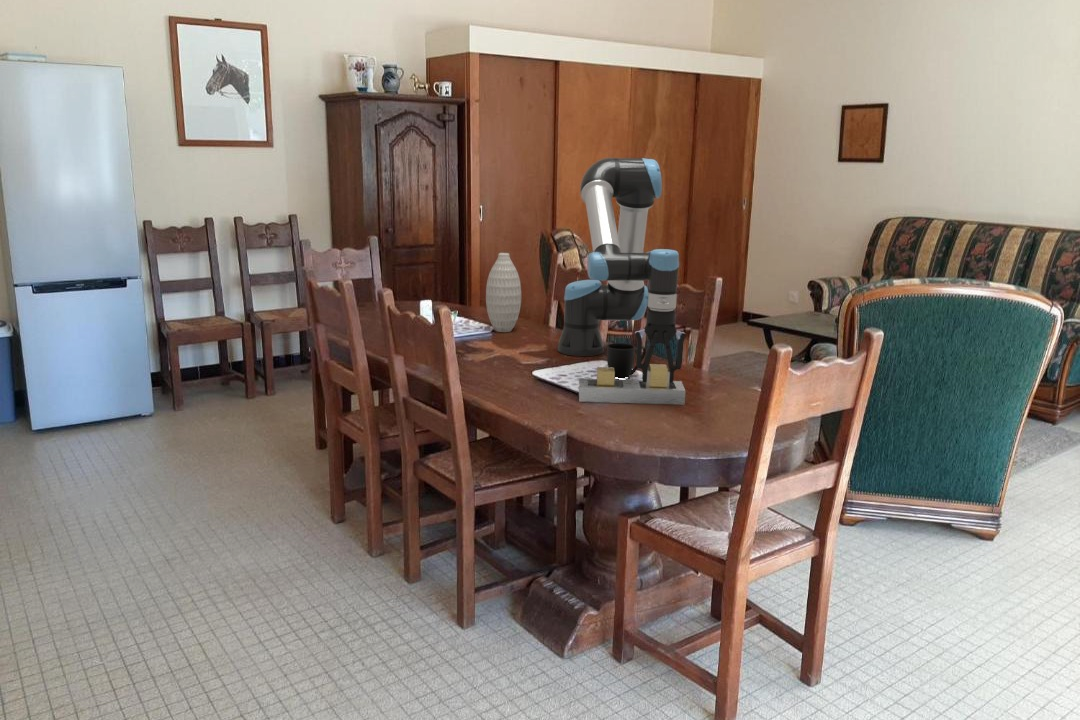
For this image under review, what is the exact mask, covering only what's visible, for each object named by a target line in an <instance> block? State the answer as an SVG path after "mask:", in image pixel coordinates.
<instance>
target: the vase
mask: <svg viewBox="0 0 1080 720" xmlns="http://www.w3.org/2000/svg"><path fill="white" fill-rule="evenodd" d="M510 256H511V255H510V253H509V252H499V253H498V254H497V258H496V260H495V261H494V262H495V263H494V264H493V265H492V267H491V269H490V271H489V274H488V276H487V282H486V289H485V303H486V304H485V305H486V311H487V316H488V318H489V321H490V324H491V326H492V328H493V329H494V331H495V332H497V333H509V332H510V333H511V332H512V330H513V328H514V327H515V325H516V324H517V321H518V318H519V314H520V312H521V311H520V310H521V304H522V286H521V279H520V276H519V273H518V270H517V268H516V266H515V265H514V263H513V261H512V259H511V257H510Z"/></svg>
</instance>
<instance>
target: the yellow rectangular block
mask: <svg viewBox="0 0 1080 720" xmlns="http://www.w3.org/2000/svg"><path fill="white" fill-rule="evenodd" d="M648 369H650V387H649V388H664V389H667V374H668V369H669V367H668V366H667V364H664V363H663V364H662V363H661V364H658V363H649V367H648Z"/></svg>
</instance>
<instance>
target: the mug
mask: <svg viewBox="0 0 1080 720" xmlns="http://www.w3.org/2000/svg"><path fill="white" fill-rule="evenodd" d="M636 351H637V346H635V345H632V344H630V343H626V342H625V343H622V342H617V343H616V342H614V343H610V344H609V343H608V344H607V346H606V362H607V367H613V368H614V370H615V377H618V378H625V377H629V376H630V377H631V376H632V375H634V374H635V372H636V371H637V370H638V368H637V366H636V365H635V366H634V364H635V360H636ZM646 353H647V348H646V347H644V346H642V358H641V363H643V361H644V360H645V356H646ZM630 377H629V378H630Z"/></svg>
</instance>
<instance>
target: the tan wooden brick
mask: <svg viewBox="0 0 1080 720" xmlns="http://www.w3.org/2000/svg"><path fill="white" fill-rule="evenodd" d="M614 378H615V370H614V368H613V367H608V366H606V367H605V366H604V367H603V366H597V369H596V379H597V387H614Z"/></svg>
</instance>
